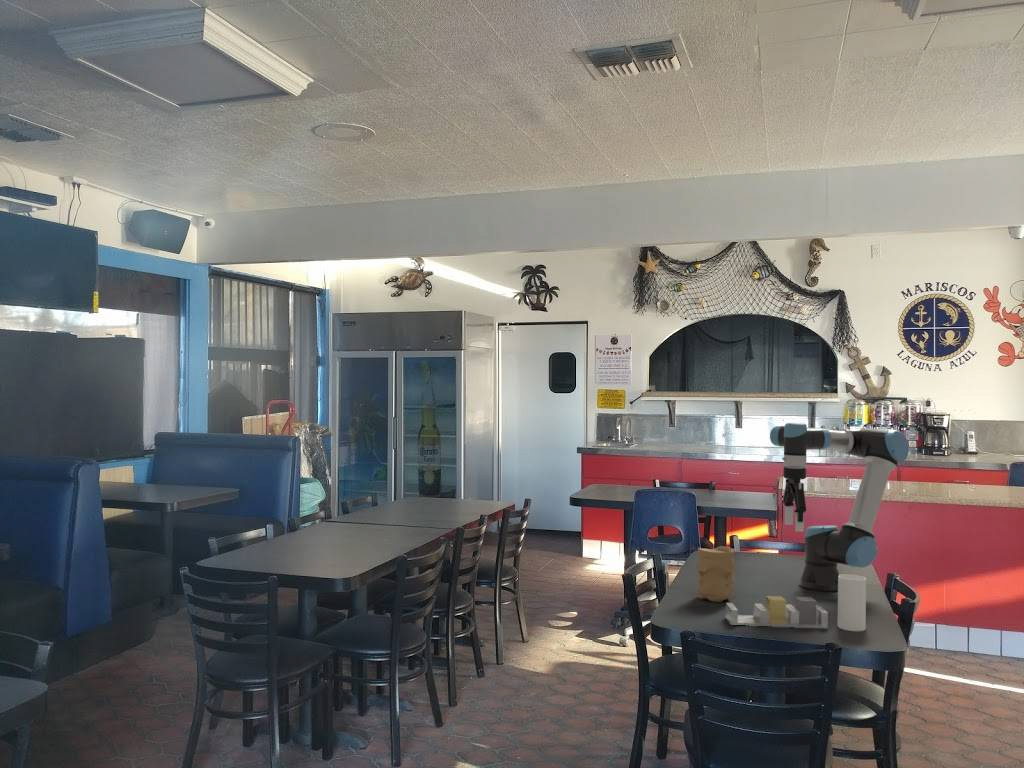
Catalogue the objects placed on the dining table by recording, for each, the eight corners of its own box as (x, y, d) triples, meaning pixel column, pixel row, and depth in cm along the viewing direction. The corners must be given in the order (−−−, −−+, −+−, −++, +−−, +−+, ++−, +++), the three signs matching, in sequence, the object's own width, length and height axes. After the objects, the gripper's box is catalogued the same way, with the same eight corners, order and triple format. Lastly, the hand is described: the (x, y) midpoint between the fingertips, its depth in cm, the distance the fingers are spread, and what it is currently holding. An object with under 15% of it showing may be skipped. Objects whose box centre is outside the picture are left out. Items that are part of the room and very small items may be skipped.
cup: (832, 624, 272) (833, 574, 272) (857, 623, 272) (858, 574, 272) (845, 631, 264) (845, 580, 263) (870, 631, 264) (871, 580, 264)
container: (690, 596, 304) (691, 546, 304) (719, 593, 309) (719, 544, 309) (711, 605, 293) (712, 553, 293) (741, 602, 298) (741, 551, 298)
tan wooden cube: (781, 618, 274) (781, 596, 274) (785, 622, 269) (785, 600, 269) (765, 617, 274) (766, 596, 274) (769, 621, 270) (769, 599, 269)
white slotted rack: (818, 620, 275) (819, 596, 275) (827, 628, 266) (828, 603, 266) (725, 617, 277) (726, 593, 277) (731, 625, 268) (731, 600, 268)
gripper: (774, 463, 308) (774, 521, 308) (793, 470, 283) (792, 533, 283) (795, 463, 308) (795, 522, 308) (816, 471, 283) (815, 534, 283)
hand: (793, 528), depth 295 cm, fingers open, 13 cm apart
